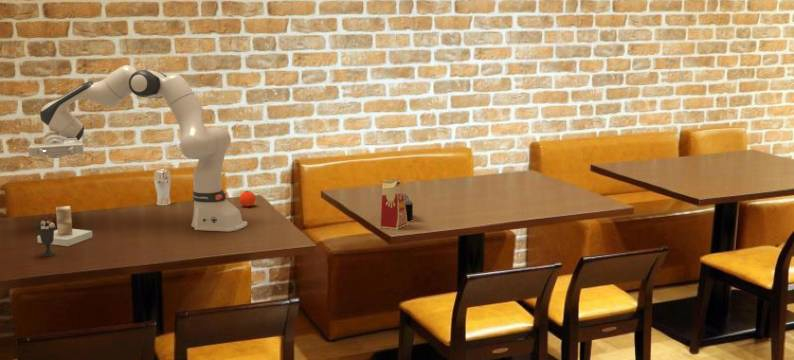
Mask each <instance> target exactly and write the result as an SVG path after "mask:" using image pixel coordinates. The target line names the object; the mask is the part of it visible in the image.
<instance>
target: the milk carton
mask: <svg viewBox="0 0 794 360" xmlns="http://www.w3.org/2000/svg"><path fill="white" fill-rule="evenodd" d="M381 182H382V189H381V191H382V192H381V202H380V203H381V204H380V227H379V228H380V229H385V228H390V229H389V230H393V229H396V230H395V231H398V230H400V229H399V228H401V227H403V226H405V225H407V224H408V222H407V213H406V207H405V201H404V196H403V194H404V192H403V188H402V183H401V182H400V181H399V177H396V178H393V179H388V180H381ZM407 226H408V225H407ZM405 227H406V226H405ZM403 228H404V227H403ZM397 229H398V230H397ZM401 229H402V228H401Z"/></svg>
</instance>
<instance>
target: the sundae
mask: <svg viewBox="0 0 794 360" xmlns="http://www.w3.org/2000/svg"><path fill="white" fill-rule="evenodd" d="M52 214H53V213H52V212H49V214H48V216H51V215H52ZM36 224H37V226H36V228H35V229H36V230H37V231H38V232H39V233H38V234H39V236H40V238H41V241H42V243H41V244H43V245H45V251H44V252H43V253H41V254H40V256H42V257H51V256H52V257H53V256H55V255H56V254H57V253H56V252H54V251H51V248H50V247H51V246H50V245H52V244H51V243H52V242H53V239H54V231H55V230H56V228H57V225H55V223H54V222H53V219H52V218H49V217H44V219H42V220H41V221H40V223H38V222H36Z"/></svg>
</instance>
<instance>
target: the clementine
mask: <svg viewBox="0 0 794 360" xmlns="http://www.w3.org/2000/svg"><path fill="white" fill-rule="evenodd" d="M239 203H240V204H241V206H243V207H245V208H249V206H250V207H252V206H253V205H255V203H256V195H255V194H254V192H252V191H250V190H245V191H244V190H243V192H242V193H240V196H239Z"/></svg>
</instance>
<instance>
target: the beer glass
mask: <svg viewBox="0 0 794 360" xmlns="http://www.w3.org/2000/svg"><path fill="white" fill-rule="evenodd" d="M153 174H154V175H153V179H154V180H153V181H154V182H153V183H154V188H155V192H156V205H157V206H169V205H171V202H172V201H171V198H170V194H171V193H170V192H171V183H172V182H171V172H170V169H167V168H164V169H163V168H162V169H156V170H154V173H153Z"/></svg>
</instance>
